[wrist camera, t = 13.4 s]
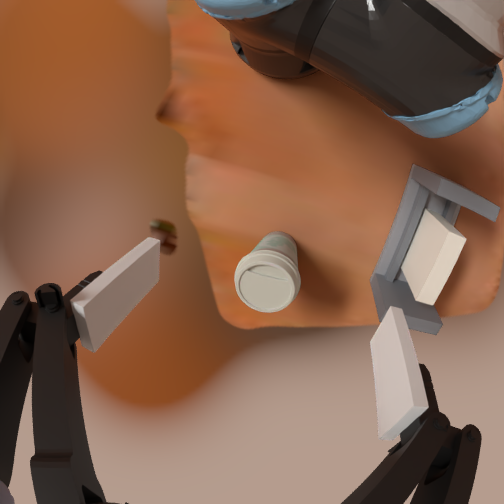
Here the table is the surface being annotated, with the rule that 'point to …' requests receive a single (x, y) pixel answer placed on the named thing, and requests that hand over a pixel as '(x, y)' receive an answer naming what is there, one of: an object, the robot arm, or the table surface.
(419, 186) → the track
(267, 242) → the coffee cup
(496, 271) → the table surface
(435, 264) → the block
